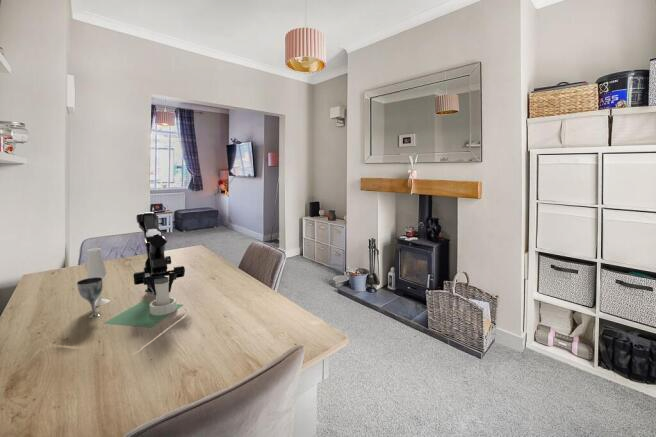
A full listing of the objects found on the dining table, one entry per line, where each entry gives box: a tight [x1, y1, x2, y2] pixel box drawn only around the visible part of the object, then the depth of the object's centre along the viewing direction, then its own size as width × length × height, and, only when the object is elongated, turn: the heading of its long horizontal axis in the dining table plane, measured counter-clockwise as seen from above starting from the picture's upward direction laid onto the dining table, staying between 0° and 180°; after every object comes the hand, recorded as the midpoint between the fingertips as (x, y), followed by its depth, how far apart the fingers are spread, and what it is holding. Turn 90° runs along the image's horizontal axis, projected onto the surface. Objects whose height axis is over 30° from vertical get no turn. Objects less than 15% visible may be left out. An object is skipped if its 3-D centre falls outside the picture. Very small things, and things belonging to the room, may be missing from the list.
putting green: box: [103, 296, 184, 329], centre depth 129 cm, size 20×20×4 cm
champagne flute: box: [86, 247, 110, 307], centre depth 139 cm, size 7×7×24 cm
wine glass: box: [76, 277, 104, 319], centre depth 126 cm, size 8×8×15 cm
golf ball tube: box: [154, 276, 171, 306], centre depth 131 cm, size 5×5×12 cm
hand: (162, 293), depth 130 cm, fingers closed on golf ball tube, 5 cm apart
